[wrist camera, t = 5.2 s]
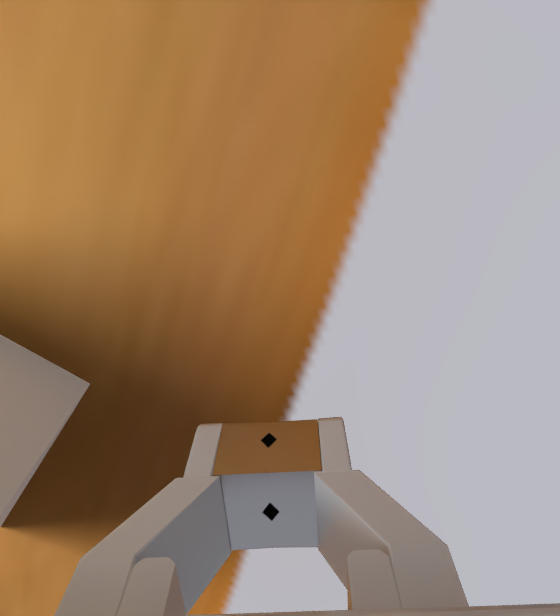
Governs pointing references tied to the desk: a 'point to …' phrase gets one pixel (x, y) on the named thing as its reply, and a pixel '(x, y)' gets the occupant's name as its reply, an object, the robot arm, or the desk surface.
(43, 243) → the desk surface
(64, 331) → the desk surface
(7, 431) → the white cube
